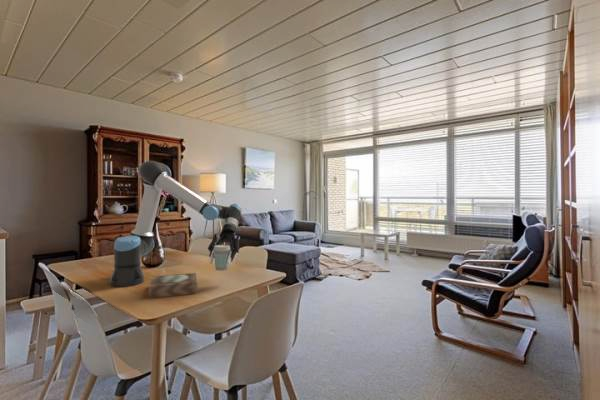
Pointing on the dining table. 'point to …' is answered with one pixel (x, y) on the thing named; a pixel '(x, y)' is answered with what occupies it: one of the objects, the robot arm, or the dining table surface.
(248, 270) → the dining table surface
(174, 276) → the walnut plinth
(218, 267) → the coffee cup
